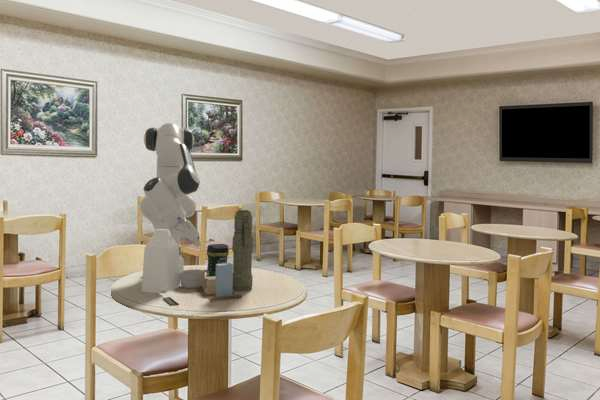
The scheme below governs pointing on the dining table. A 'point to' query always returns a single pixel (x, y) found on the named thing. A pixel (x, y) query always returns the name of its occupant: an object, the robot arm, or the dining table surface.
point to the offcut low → (208, 289)
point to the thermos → (242, 251)
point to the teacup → (193, 278)
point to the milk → (161, 263)
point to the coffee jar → (216, 257)
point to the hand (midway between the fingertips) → (193, 244)
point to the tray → (213, 297)
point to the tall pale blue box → (224, 280)
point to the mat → (170, 301)
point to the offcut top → (209, 281)
